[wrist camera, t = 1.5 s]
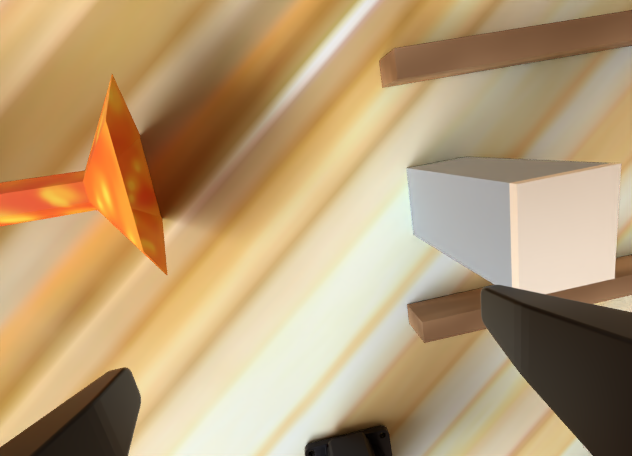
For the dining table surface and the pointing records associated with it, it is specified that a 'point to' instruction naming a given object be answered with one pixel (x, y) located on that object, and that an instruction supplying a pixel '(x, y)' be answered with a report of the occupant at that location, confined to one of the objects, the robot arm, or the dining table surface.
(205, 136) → the dining table surface
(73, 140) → the dining table surface
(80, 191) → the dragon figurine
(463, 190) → the long block
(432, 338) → the rail pen
